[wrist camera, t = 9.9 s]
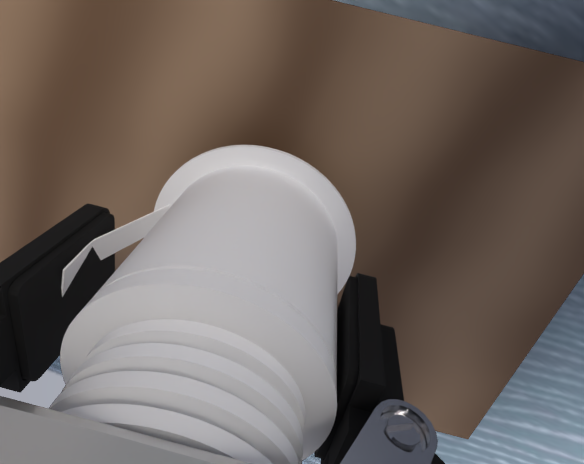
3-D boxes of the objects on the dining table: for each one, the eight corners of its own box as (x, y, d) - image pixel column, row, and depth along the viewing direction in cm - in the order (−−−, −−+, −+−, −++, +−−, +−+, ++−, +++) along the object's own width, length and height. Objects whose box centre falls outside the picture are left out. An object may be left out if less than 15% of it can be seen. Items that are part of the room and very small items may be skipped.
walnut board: (672, 85, 12) (710, 93, 11) (460, 412, 20) (467, 439, 19) (-63, -95, 13) (-111, -109, 11) (4, 293, 20) (-20, 311, 19)
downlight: (130, 275, 15) (-140, 617, 7) (164, 100, 12) (-295, 339, 3) (321, 342, 16) (301, 733, 7) (406, 196, 13) (552, 601, 4)
